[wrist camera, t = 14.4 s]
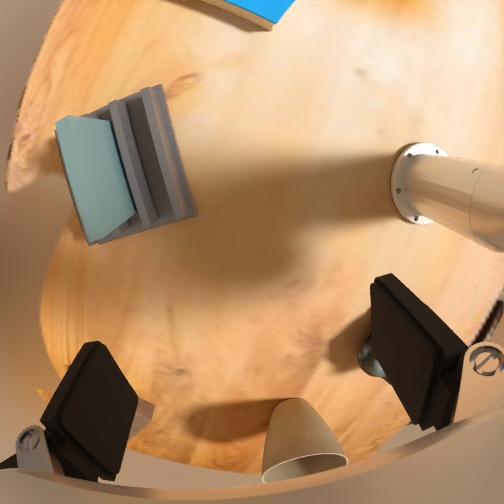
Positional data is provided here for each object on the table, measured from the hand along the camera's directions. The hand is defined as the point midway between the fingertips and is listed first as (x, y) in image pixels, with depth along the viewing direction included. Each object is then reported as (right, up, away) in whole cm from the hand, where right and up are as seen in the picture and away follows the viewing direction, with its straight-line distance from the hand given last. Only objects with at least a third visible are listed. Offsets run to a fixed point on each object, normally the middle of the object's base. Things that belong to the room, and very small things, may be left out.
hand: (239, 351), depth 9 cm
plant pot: (+8, -28, +44) cm, 53 cm away
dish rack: (-16, +15, +26) cm, 34 cm away
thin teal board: (-16, +14, +25) cm, 33 cm away
